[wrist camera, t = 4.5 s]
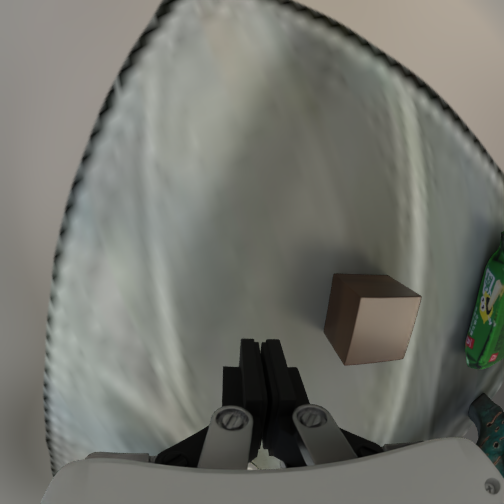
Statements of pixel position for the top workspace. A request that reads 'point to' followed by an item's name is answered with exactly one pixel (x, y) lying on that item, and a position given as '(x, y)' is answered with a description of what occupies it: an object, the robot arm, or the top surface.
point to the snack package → (488, 316)
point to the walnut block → (370, 318)
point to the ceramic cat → (489, 429)
